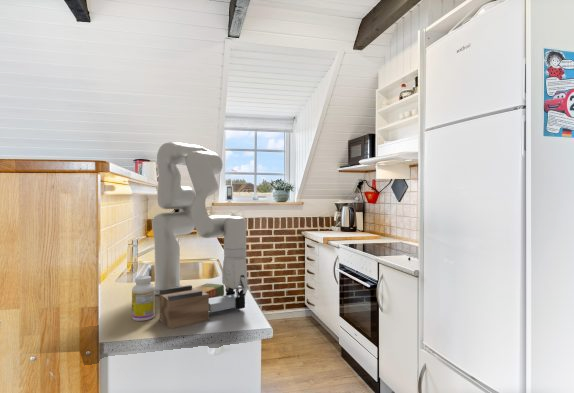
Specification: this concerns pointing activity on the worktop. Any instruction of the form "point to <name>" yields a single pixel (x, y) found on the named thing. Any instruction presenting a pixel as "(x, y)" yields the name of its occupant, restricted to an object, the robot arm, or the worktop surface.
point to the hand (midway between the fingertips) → (235, 305)
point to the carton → (212, 289)
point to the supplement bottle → (143, 299)
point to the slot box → (183, 306)
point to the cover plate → (222, 302)
